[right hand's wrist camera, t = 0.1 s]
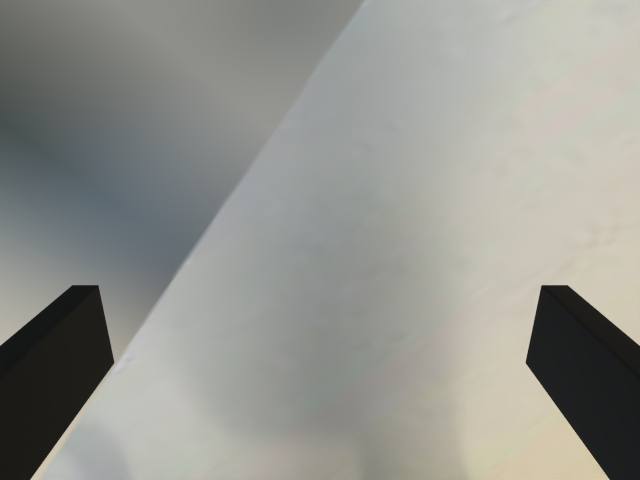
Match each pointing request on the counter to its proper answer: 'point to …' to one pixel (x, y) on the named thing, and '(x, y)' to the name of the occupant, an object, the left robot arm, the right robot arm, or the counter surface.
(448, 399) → the counter surface
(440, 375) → the counter surface
